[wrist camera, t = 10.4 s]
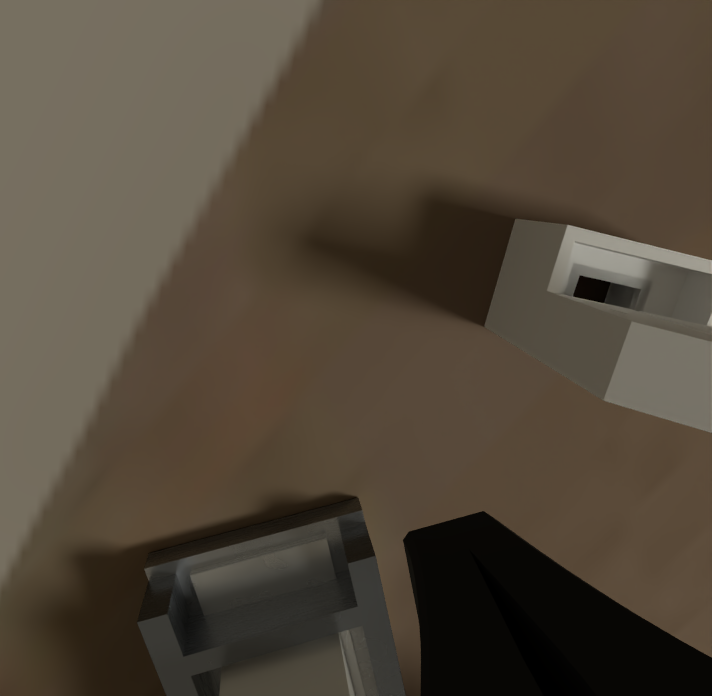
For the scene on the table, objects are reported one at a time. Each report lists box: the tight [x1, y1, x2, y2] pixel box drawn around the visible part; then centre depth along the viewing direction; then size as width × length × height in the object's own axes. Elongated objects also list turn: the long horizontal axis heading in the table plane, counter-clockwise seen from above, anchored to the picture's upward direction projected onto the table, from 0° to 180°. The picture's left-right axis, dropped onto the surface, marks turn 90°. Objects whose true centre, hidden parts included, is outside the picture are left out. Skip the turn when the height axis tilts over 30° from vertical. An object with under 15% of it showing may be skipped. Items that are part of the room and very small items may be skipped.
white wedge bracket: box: [484, 219, 712, 433], centre depth 15 cm, size 4×10×9 cm
